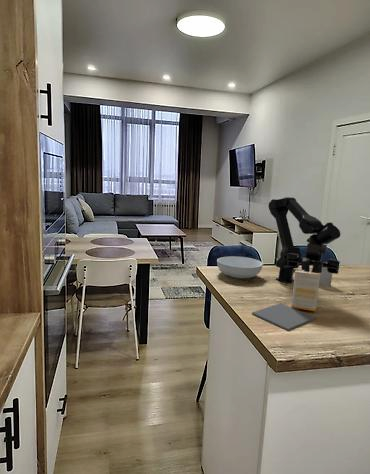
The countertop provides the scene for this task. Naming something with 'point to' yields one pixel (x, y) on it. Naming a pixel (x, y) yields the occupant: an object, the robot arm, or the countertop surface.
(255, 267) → the serving bowl
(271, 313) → the mat
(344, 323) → the countertop surface
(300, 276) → the supplement box
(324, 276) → the grey angular block
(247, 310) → the countertop surface
